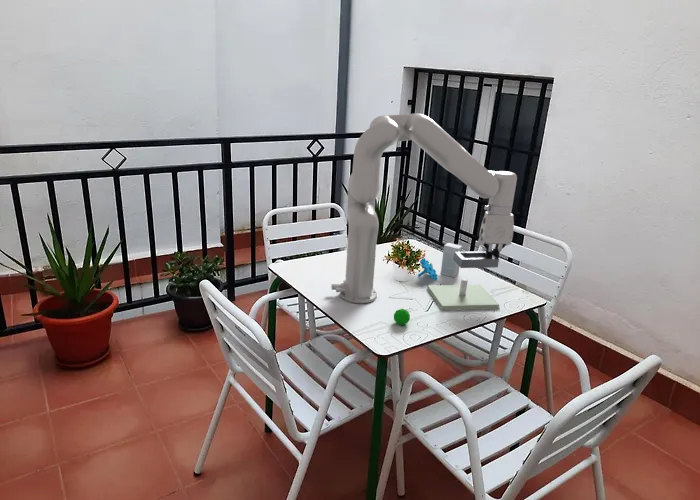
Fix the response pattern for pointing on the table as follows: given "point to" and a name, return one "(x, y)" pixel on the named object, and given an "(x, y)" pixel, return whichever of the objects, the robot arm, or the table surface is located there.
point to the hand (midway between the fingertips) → (491, 260)
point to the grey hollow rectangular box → (475, 259)
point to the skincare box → (450, 260)
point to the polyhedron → (401, 316)
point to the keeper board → (462, 296)
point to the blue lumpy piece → (428, 269)
